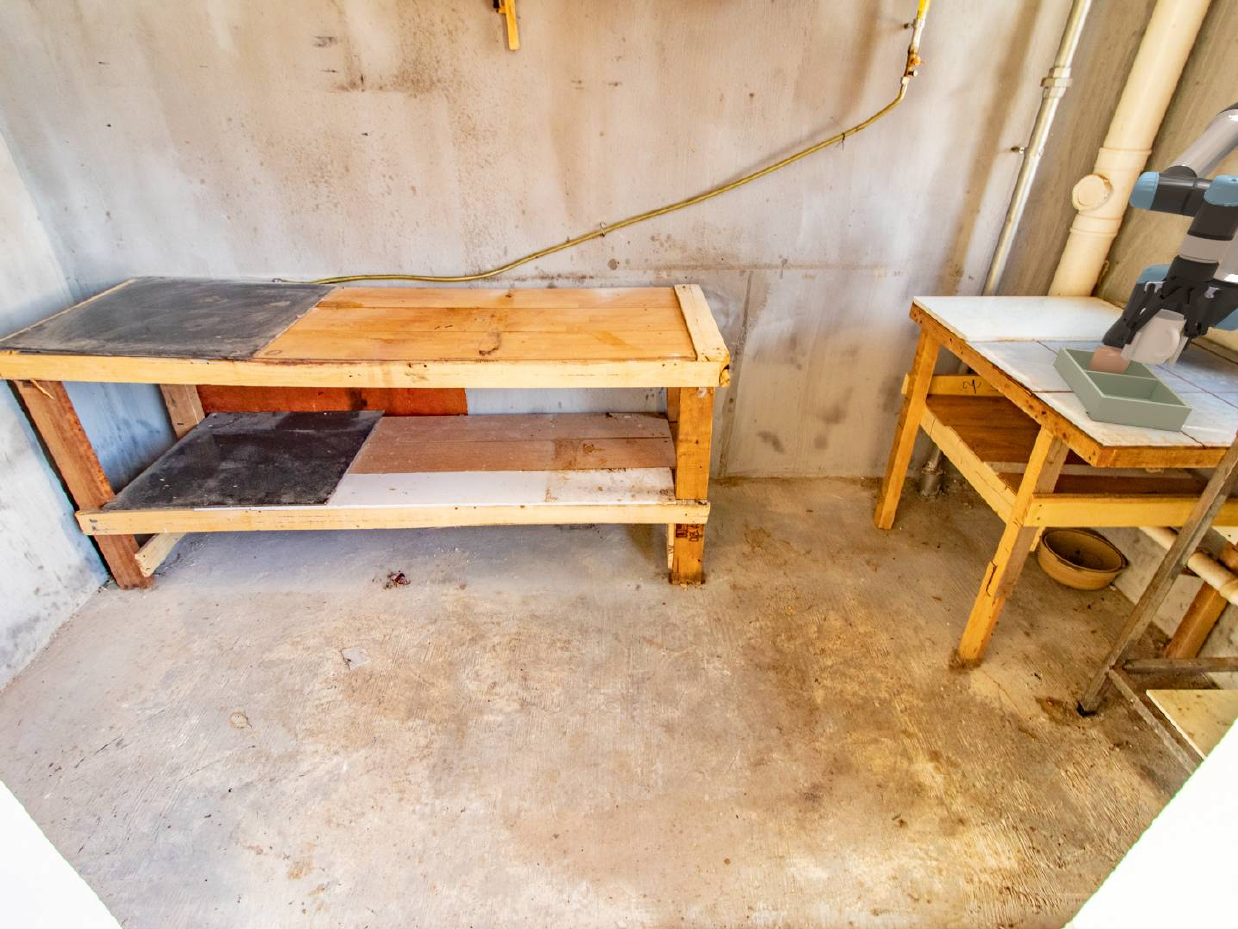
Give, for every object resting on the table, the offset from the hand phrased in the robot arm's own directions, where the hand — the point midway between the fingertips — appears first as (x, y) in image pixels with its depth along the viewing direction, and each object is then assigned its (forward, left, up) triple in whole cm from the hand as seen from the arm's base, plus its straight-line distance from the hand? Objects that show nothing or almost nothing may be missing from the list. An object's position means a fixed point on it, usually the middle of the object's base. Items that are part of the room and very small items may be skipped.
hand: (1146, 360), depth 146 cm
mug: (0, 0, 0) cm, 0 cm away
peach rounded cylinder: (0, -15, -12) cm, 19 cm away
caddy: (0, -8, -13) cm, 15 cm away
